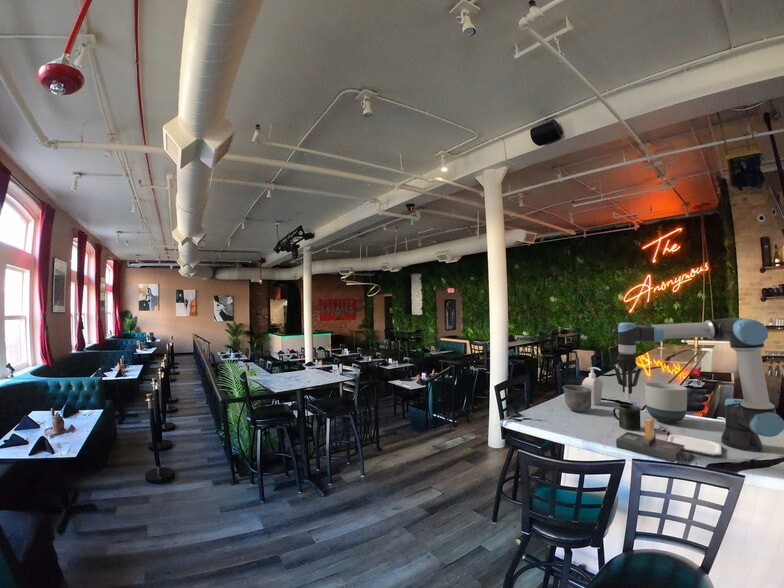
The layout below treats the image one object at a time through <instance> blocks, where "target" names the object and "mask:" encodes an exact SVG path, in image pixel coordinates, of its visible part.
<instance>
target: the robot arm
mask: <svg viewBox="0 0 784 588" xmlns="http://www.w3.org/2000/svg"><path fill="white" fill-rule="evenodd" d="M617 326H618V328H617V335H618V337H617V339H618V342H617V343H618V345H617V346H618V355H617V357H618V361H617V363H616V364H613V365H612V368H613V370H614V372H615V375H616V380H617V383H618V385H620V386H621V387H622V393H624V400H626V401H630V400H631V394H632V393H633V387H637V385H638V381H639V378H640V376H641V375H640V373H641V372H642V371H643V367H640V366H638V364H637V354H636V352H637V350H636V349H637V348H636V347H637V343H638V342H644V343H645V342H646V343H662V342H663V341H664V340H665V339H688V338H707V339H709V340H724V341H729V345H730V349H733V350H734V351H735V355H736V356H735V357H736V361H737V362H736V363H737V367H738V373H739V379H740V385H741V391H742V396H743V399H742V398H726V399H725V400H724V415H725V416H724V419H725V421H724V422H725V428H724V430H723V433H722V435H721V438H720V439H721V443H722V444H723V445H725V446H728V447H731V448H734V449H737V448H738V450H741V449H742V450H743V451H747V450H753V451H752V452H761V451H760V450H762V449H763V450H764V447H763V446H764V445H763V442H762V440H761V438H760V437H761V436H762V437H765V438H772V437H776V436H778V435H780V433H782V432H783V431H784V419H783V418H782V417H781V416H780V415H779V414H777V410H776V406H775V405H774V404H773V403H771V402H770V397H769V392H768V386H767V381H766V374H765V370H764V369H765V368H764V363H763V358H762V353H761V350H763V349H764V348H765V342H766V340H767V339H768V337H769V331H768V328H767V327H766V326H765V325H764V323H762V322H761V321H758V320H756V319H752V318H746V317H745V318H744V317H743V318H739V317H728V318H727V317H726V318H725V317H724V318H718V319H709V320H705V321H704V322H686V323H682V322H681V323H665V324H664V323H662V324H660V323H659V324H641V325H640V324H636V323H635V322H619V323H618V325H617ZM634 370H635V373H634V377H633V372H634ZM620 371H621V372H620ZM742 450H741V451H742ZM763 450H762V451H763Z"/></svg>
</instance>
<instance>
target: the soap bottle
mask: <svg viewBox="0 0 784 588" xmlns="http://www.w3.org/2000/svg"><path fill="white" fill-rule="evenodd" d="M588 369H589V370H590V373H588V377H585V378H584V379H583V380H582V383H581V386H584V387H587V388H590V389H592V391H591V406H598V405H601V403H602V394H603V385H604V382H603V381H602V380H601V379H600V378H599V377H596V375H597V374H596V373H595V372H594V371H595V370H598V371H602V369H600V368H599V367H596V366H595V367H594V366H591V367H587V370H588Z"/></svg>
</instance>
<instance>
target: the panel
mask: <svg viewBox="0 0 784 588" xmlns="http://www.w3.org/2000/svg"><path fill="white" fill-rule="evenodd" d="M615 443H616V444H615V445H616V448H617V447H618V448H617V449H620V450H624V449H625V451H629V452H632V453H635V454H639V455H644V456H647V457H651V458H655V459H657V460H661V461H666V462H669V461H670V462H669V463H672V462H675V461H677V460H678V461H680V459H682V457H683V456H684V455H686V451H685V445H681V444H677V443H673V442H668V441H667V440H664V439H659V438H657V434H656V433H654V439H653V440H652V441H651V442H650V441H649V439H646V438H645V435H642V434H638V433H633V432H630V431H626V432H625V433H623V434H622V435H620V436H619V437H617V438H616V441H615Z"/></svg>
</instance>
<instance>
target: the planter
mask: <svg viewBox="0 0 784 588" xmlns="http://www.w3.org/2000/svg"><path fill="white" fill-rule="evenodd" d="M644 393H645V394H644V396H645V397H644V398H645V406H646V410H647V413H648V414H649V415H650V416H651V417H652V419H654V420H656V421H658V422H662V423H665V424H676V423H679V422H681V421H683V419H684V418H685V417H686V414H687V409H688V408H687V407H688V388H687V387H686V386H683V385H679V384H674V383H668V382H654V381H652V382H650V381H649V382H646V383H644Z"/></svg>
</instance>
